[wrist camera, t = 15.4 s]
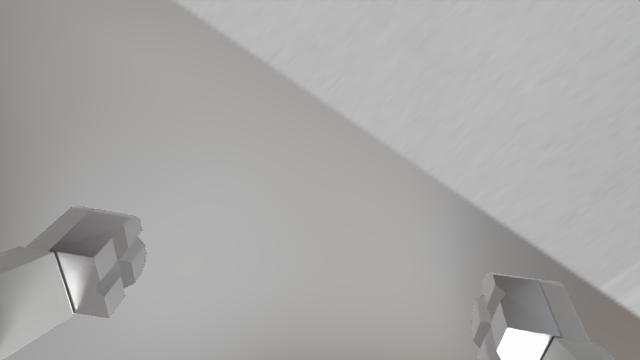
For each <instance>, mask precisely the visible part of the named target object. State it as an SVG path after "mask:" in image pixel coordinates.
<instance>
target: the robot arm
mask: <svg viewBox="0 0 640 360" xmlns="http://www.w3.org/2000/svg"><path fill="white" fill-rule="evenodd" d="M141 231H142V226H141V222H140V219H139V218H138V217H136V216H132V215H127V214H122V213H116V212H111V211H105V210H100V209H92V208H87V207H81V206H76V207H71V208H70V209H69V210H68V211H66V212H65V213H64V214H63V215H62V216H61V217H60V218H58V220H56V221H55V222H54V223H53V224H52V225H51V226H49V227H48V228H47V229H46V230H45V231H44V232H42V233H41V234H40V235H39V236H38V237H37V238H36V239H34V241H32V242H31V243H30V244H29V245H28V246H26V247H20V246H19V247H16V248H14V249H11V250H8V251H5V252H2V253H0V360H3V359H5V358H6V357H8V356H9V355H11V354H12V353H14V352H16V351H17V350H19V349H20V348H22V347H24V346H25V345H27V344H28V343H30V342H32V341H33V340H35V339H36V338H38V337H39V336H41V335H43V334H44V333H46V332H47V331H49V330H51V329H52V328H54V327H55V326H57V325H59V324H60V323H62V322H63V321H65V320H66V319H68V318H69V317H71V316H73V315H74V313H79V314H85V315H92V316H98V317H105V318H110V317H111V315H112V314H113V313H114V311H115V310H116V308H117V307H118V306H119V304H120V303H121V302H122V300H123V299H124V297H125V291H124V288H126V287H128V286H129V285H132V284H133V283H135V282H136V281H137V279H138V278H139V276H140V275H141V273H142V271H143V268H144V265H145V262H146V249H145V244H144V243H143V242H142V241H141V240H140V239H139V238H138V235H139V234H140V232H141ZM482 289H483V293H484V295H482V296H480V297H479V298H477V299H476V301H475V304H474V307H473V311H472V319H471V332H472V338H473V341H474V342H475V343H476V345H477V346H478V347H479V348H480V350H479V353H478V355H477V358H476V360H616V359H615V358H613V357H612V356H611V355H610V354H609V353H608V352H606V351H605V350H604V349H603V348H602V347H601V346H599V345H598V344H593V343H590V341H589V339H588V337H587V335H586V333H585V330H584V328H583V326H582V324H581V322H580V320H579V318H578V316H577V313H576V311H575V309H574V307H573V305H572V303H571V301H570V298H569V296H568V294H567V292H566V290H565V288H564V286H563V285H562V284H561V283H560V282H556V281H548V280H540V279H531V278H524V277H517V276H511V275H504V274H498V273H491V272H488V273H487V275H486V276H485V278H484V280H483V283H482Z"/></svg>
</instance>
